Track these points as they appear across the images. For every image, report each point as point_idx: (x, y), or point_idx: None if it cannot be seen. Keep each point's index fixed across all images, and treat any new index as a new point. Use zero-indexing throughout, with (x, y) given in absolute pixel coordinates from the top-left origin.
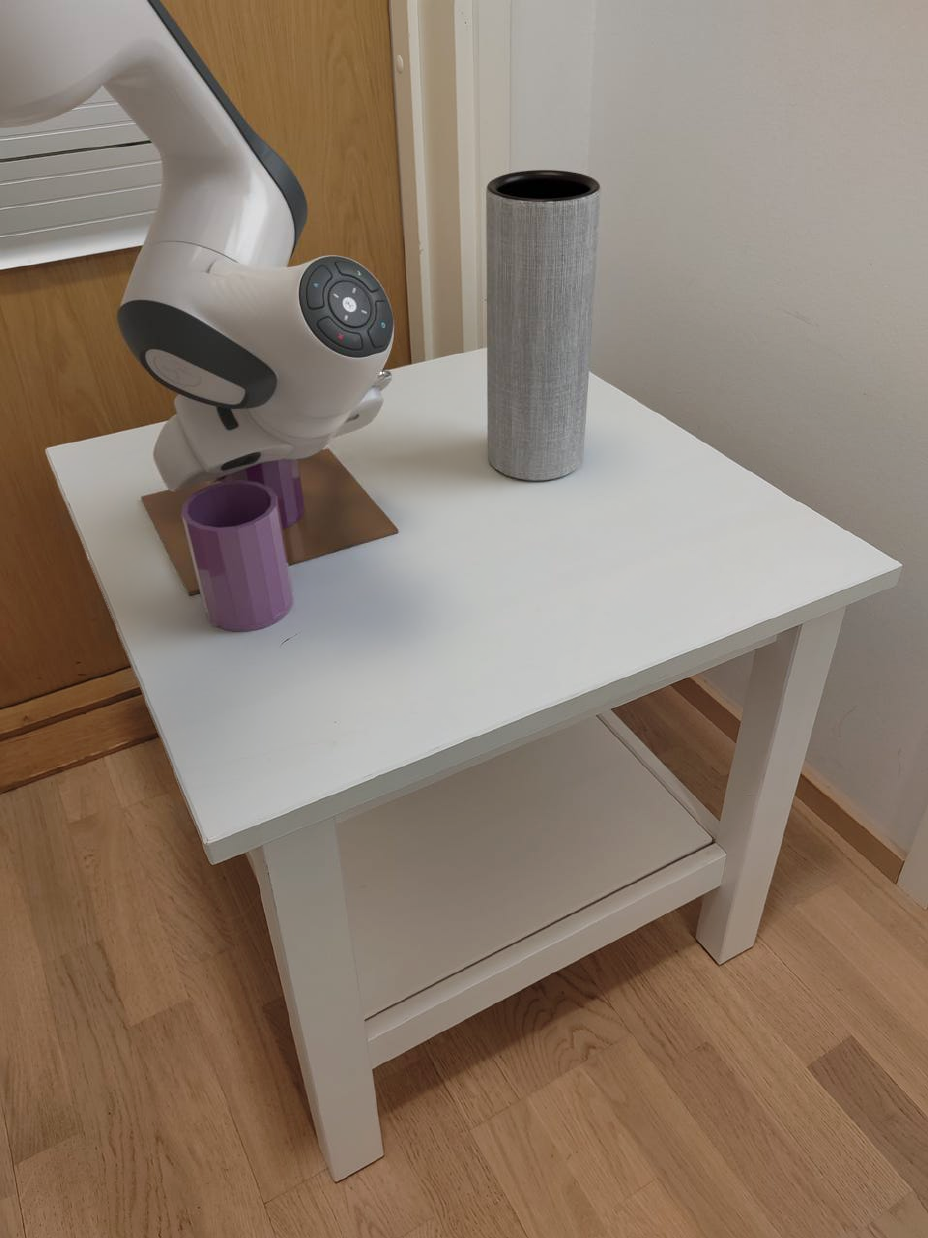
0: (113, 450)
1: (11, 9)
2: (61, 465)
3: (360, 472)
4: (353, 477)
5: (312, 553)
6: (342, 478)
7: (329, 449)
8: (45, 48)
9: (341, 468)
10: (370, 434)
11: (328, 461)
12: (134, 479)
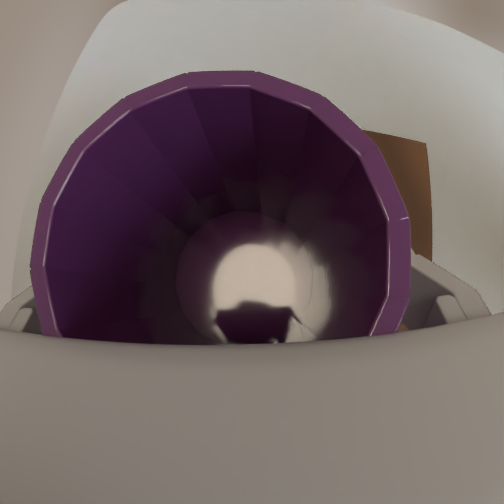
0: (152, 12)
1: None
2: (96, 27)
3: (445, 241)
4: (431, 261)
5: None
6: (415, 252)
7: (426, 148)
8: None
9: (425, 218)
10: (483, 148)
11: (414, 181)
12: (130, 70)
